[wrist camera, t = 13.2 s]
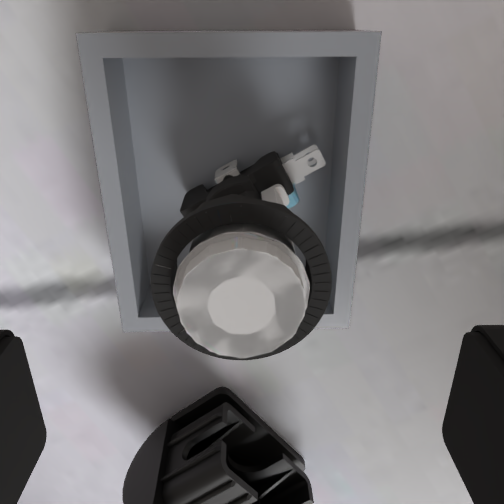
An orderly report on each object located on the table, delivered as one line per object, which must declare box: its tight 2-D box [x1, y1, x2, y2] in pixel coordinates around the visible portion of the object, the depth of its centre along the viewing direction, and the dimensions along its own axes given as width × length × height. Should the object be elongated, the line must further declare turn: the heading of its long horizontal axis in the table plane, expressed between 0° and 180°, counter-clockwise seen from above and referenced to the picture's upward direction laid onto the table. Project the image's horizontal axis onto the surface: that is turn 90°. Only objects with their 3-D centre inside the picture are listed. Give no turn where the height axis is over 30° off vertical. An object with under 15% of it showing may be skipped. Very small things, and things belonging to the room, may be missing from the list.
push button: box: [151, 144, 332, 360], centre depth 17 cm, size 7×5×10 cm
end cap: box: [123, 387, 314, 504], centre depth 28 cm, size 10×7×7 cm
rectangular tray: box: [76, 30, 382, 332], centre depth 21 cm, size 11×13×4 cm
